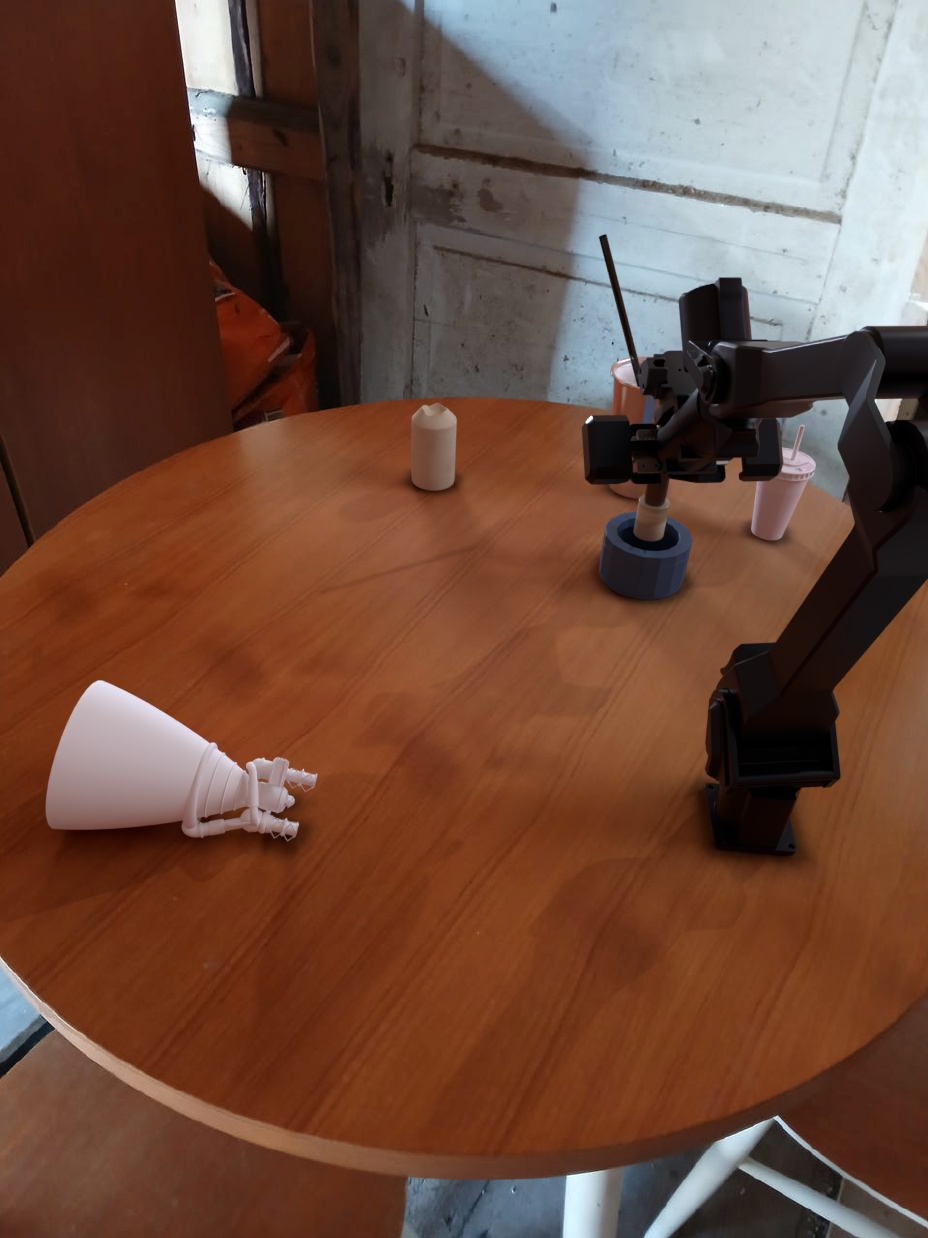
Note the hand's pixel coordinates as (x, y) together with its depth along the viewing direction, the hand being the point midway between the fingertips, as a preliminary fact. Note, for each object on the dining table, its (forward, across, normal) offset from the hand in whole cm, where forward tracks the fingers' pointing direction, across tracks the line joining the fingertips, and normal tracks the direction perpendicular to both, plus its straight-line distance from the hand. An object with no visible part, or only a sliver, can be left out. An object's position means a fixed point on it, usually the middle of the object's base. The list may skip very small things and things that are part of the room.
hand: (655, 473), depth 94 cm
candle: (+23, +22, -6) cm, 32 cm away
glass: (+22, -4, -4) cm, 22 cm away
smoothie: (+13, -18, +4) cm, 23 cm away
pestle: (+4, 0, +6) cm, 7 cm away
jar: (+8, 0, +10) cm, 12 cm away
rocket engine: (-15, +45, +32) cm, 57 cm away
